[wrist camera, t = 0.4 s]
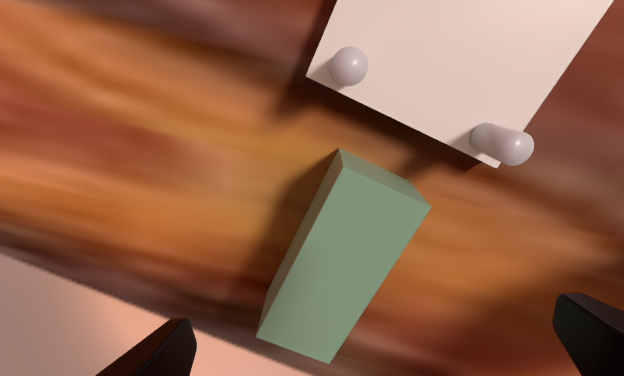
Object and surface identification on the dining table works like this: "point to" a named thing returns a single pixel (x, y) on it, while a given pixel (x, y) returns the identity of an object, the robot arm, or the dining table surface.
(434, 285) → the dining table surface
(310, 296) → the green board
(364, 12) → the plate
